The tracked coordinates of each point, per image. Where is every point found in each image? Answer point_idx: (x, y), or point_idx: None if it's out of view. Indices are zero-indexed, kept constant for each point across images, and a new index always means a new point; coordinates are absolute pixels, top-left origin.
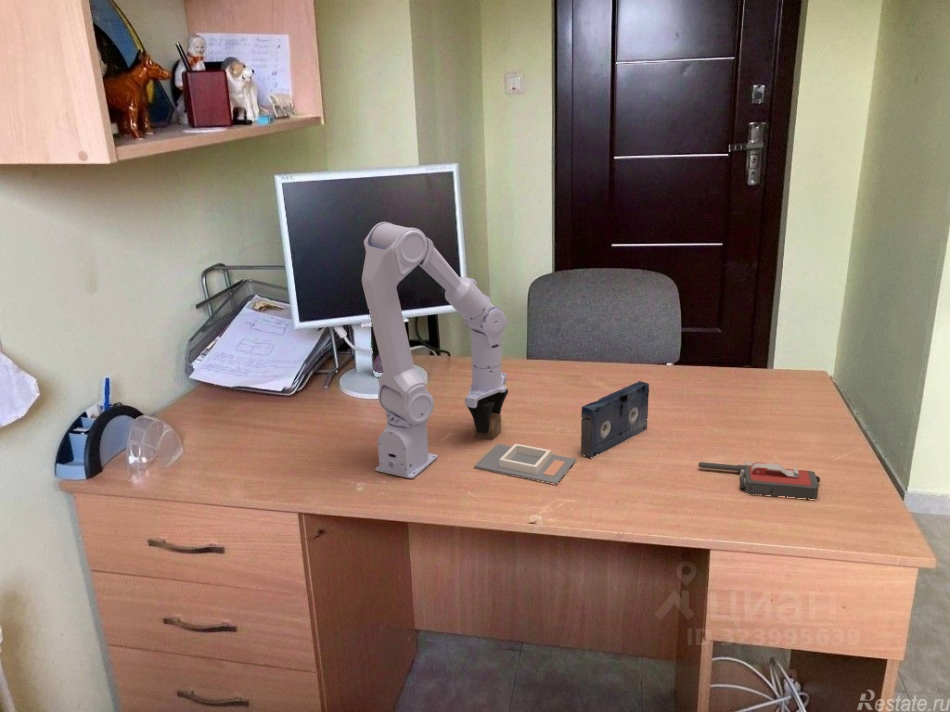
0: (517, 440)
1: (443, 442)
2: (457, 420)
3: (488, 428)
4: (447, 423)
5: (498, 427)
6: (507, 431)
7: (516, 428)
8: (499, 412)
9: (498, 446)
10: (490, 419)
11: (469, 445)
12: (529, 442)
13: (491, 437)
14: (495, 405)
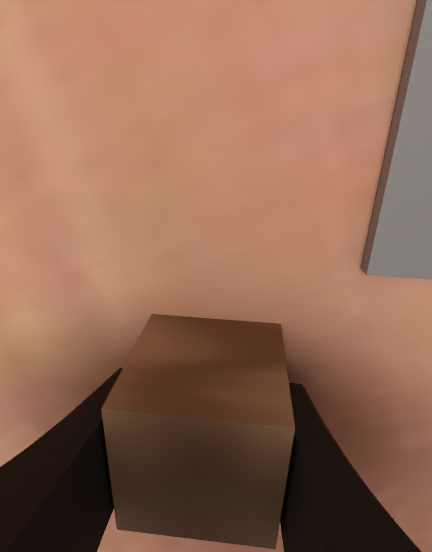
0: (222, 168)
1: None
2: None
3: (293, 402)
4: (171, 548)
5: (177, 346)
6: (118, 283)
7: (48, 246)
8: (84, 428)
9: (414, 252)
10: (251, 450)
11: (386, 413)
12: (221, 55)
13: (281, 340)
14: (63, 524)
